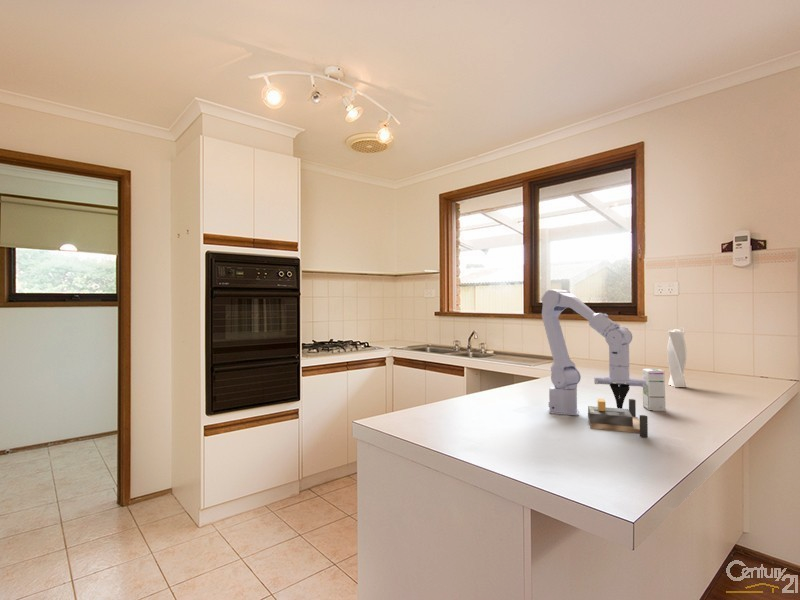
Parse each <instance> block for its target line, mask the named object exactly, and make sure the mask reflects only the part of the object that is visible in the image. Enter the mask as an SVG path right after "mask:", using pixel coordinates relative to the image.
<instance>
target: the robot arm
mask: <svg viewBox="0 0 800 600" xmlns="http://www.w3.org/2000/svg"><path fill="white" fill-rule="evenodd" d="M540 300H541V302H542V303H541V304H542V307H541V308H542V309H541V318H542V323H543V326H544V330H545V334H546V337H547V341H548V344H549V349H550V353H551V356H552V357H551V358H552V360H553V363H552V365H551V366H550V370H551V371H550V373H551V374H550V380H551V384H553V386H549V390H548V391H549V393H548V394H549V395H548V396H549V397H548V398H549V401H548V408H549V410H548V411H549V414H553V415H554V414H555V415H567V416H577V417H578V416H579V409H578V384H580V382H581V379H582V378H581V377H582V376H581V373H580V371H579V370H578V368H577V367H576V363H574V361H572V359H570V356H569V352H568V348H567V345H566V340H565V338H564V337H565V336H564V335H563V330H562V325H561V322H560V319H559V316H561V313H562V312H563V311H564V310H565V309H567V308H568V309H569V308H570V309H572V311H574V312H576V313H577V314H579V315H580V316H581V317H583V319H586V320H587V321H588V324H589V326H590V328H592V329H594V331H596V332H597V333H598V334H600V335H601V336H602V337H604V339H605V342H606V344H607V346H608V361H609V363H608V364H609V365H608V366H609V367H608V368H609V370H608V371H609V372H608V374H609V376H608V377H606V376H605V377H602V376H601V377H598V376H597V377H596V376H594V377H593V378H594V379H593V382H594V383H593V384H594V385H609V387H610V389H611V390H612V394H613V396H614V400H615V402H616V403H615V404H616V407H617V408H619V409H623V405H624V402H625V399H626V397H627V394H628V392H629V391H630V387H640V388H643V387H646V381H645V380H643V379H636V378H630V344H631V342H632V340H633V333H632V331H630V330H629V328H627V327H625V326H623V327H621V326H620V325H621V324H619V323H616V322H615V321H613V320H612V319H610V318H609V315H608V314H607V313H602V312H597V313H596V312H595V311H594V310H593V309H591V308H590V306H588V305H587V304H585V303H584V302H583V301H582V300H580V298H578V297H577V296H576V295H575V294H574V293H573V292H571V291H570V290H568V289H551V288H550V289H548V290H546V291H545V292H544V293H543V296H541V298H540Z"/></svg>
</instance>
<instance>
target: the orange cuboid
mask: <svg viewBox="0 0 800 600" xmlns="http://www.w3.org/2000/svg"><path fill="white" fill-rule="evenodd" d="M597 407H598V410H599V411H606V408H607V407H606V400H605V398H597ZM605 407H606V408H605Z"/></svg>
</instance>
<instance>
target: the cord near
mask: <svg viewBox="0 0 800 600" xmlns="http://www.w3.org/2000/svg"><path fill="white" fill-rule="evenodd" d="M648 418H649V417H648V415H643V414H641V415H639V421H640V433H639V437H640V438H643V439H646V438H648V437H649V436H648V435H649V433H648V431H649V430H648V428H649V427H648V424H649V423H648V421H649V420H648Z"/></svg>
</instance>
